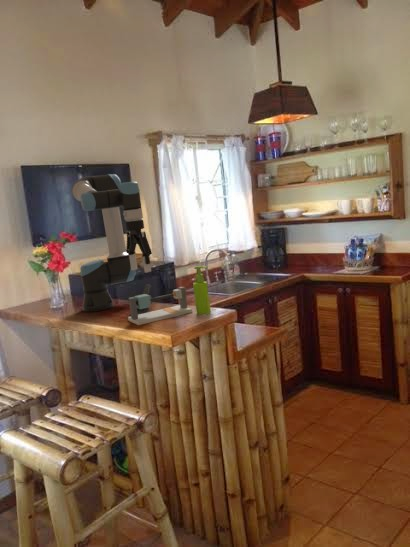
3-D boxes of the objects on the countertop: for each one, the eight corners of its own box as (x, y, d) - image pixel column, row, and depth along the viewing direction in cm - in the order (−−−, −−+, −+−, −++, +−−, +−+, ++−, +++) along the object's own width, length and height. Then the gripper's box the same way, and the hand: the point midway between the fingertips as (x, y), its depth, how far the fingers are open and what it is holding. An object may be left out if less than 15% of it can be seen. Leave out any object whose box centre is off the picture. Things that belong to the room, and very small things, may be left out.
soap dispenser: (210, 314, 208) (204, 267, 205) (194, 315, 211) (189, 268, 208) (214, 310, 214) (209, 264, 211) (199, 311, 216) (194, 265, 213)
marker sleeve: (135, 307, 213) (134, 296, 212) (146, 305, 215) (145, 293, 214) (140, 309, 209) (138, 297, 208) (151, 306, 211) (149, 295, 210)
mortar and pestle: (139, 315, 222) (135, 289, 220) (127, 313, 229) (124, 287, 227) (159, 309, 229) (156, 283, 227) (148, 307, 236) (144, 282, 235)
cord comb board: (128, 320, 216) (124, 296, 214) (180, 308, 227) (177, 285, 225) (138, 325, 205) (134, 300, 203) (192, 312, 216) (189, 288, 214)
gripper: (114, 221, 215) (121, 270, 218) (138, 220, 194) (145, 274, 197) (130, 219, 219) (137, 267, 222) (155, 218, 197) (162, 271, 201)
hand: (141, 270), depth 209 cm, fingers open, 13 cm apart
